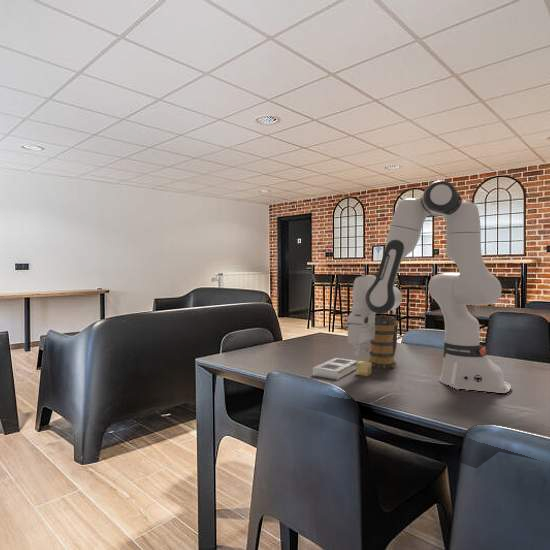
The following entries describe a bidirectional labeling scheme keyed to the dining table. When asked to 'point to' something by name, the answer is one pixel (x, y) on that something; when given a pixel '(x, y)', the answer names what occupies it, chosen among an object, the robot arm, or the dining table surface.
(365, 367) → the yellow cube
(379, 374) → the dining table surface
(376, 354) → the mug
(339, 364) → the white flat tray
